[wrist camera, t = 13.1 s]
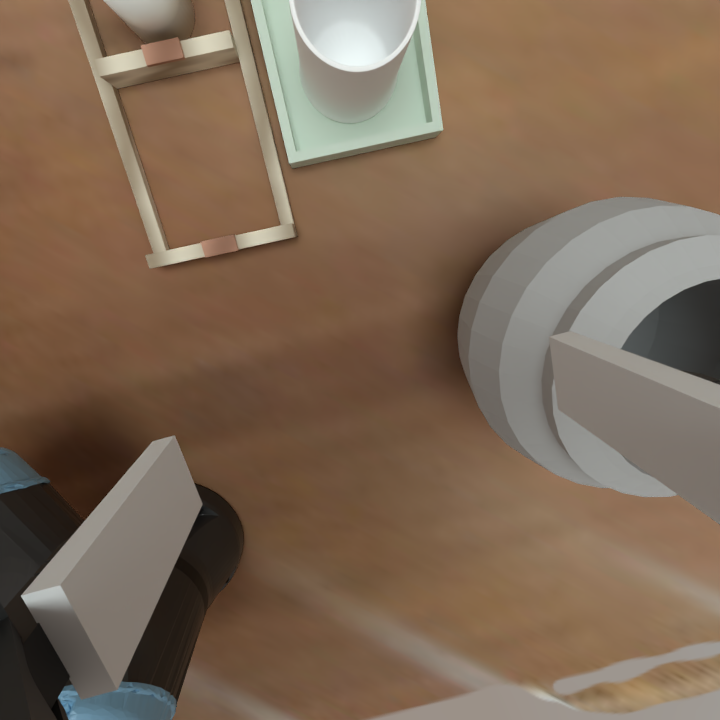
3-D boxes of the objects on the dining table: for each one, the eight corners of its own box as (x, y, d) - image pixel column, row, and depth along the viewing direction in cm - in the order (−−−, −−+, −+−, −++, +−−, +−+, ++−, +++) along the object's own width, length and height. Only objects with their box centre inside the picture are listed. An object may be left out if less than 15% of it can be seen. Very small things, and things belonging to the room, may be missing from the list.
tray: (292, 168, 40) (289, 163, 37) (241, -46, 36) (233, -71, 33) (435, 137, 40) (443, 129, 37) (403, -82, 36) (409, -110, 33)
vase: (628, 347, 47) (917, 457, 24) (465, 425, 49) (588, 600, 25) (572, 174, 42) (875, 96, 19) (391, 266, 43) (461, 302, 20)
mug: (277, -23, 36) (251, -147, 24) (379, -46, 36) (401, -181, 24) (312, 133, 39) (303, 89, 27) (405, 112, 39) (436, 59, 27)
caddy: (162, 267, 42) (148, 270, 39) (60, -38, 35) (32, -66, 32) (297, 237, 42) (295, 237, 39) (222, -73, 35) (211, -105, 32)
